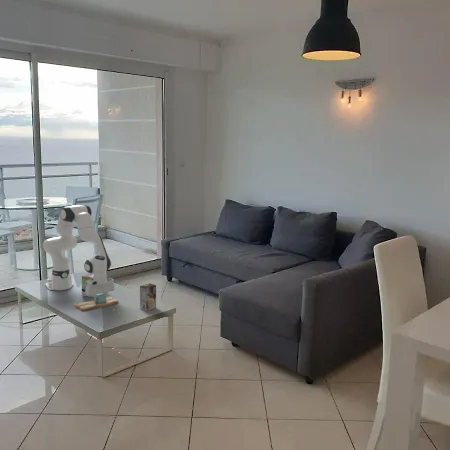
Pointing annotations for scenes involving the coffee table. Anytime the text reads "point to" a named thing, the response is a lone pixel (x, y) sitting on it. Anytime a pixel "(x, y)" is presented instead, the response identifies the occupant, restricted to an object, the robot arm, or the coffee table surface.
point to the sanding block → (101, 298)
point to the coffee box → (147, 297)
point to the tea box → (84, 279)
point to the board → (95, 304)
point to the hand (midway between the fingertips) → (100, 299)
